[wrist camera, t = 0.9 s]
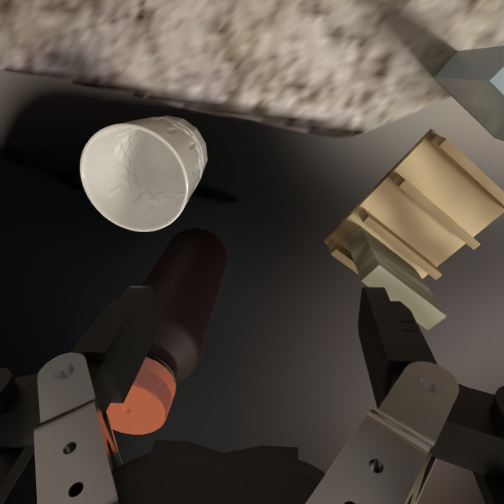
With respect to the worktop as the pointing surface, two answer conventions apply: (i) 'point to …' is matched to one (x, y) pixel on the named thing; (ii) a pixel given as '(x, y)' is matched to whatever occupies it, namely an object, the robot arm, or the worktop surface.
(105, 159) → the white cup
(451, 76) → the pale blue-grey block
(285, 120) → the worktop surface
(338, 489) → the robot arm
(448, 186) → the dish rack
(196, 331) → the bottle
